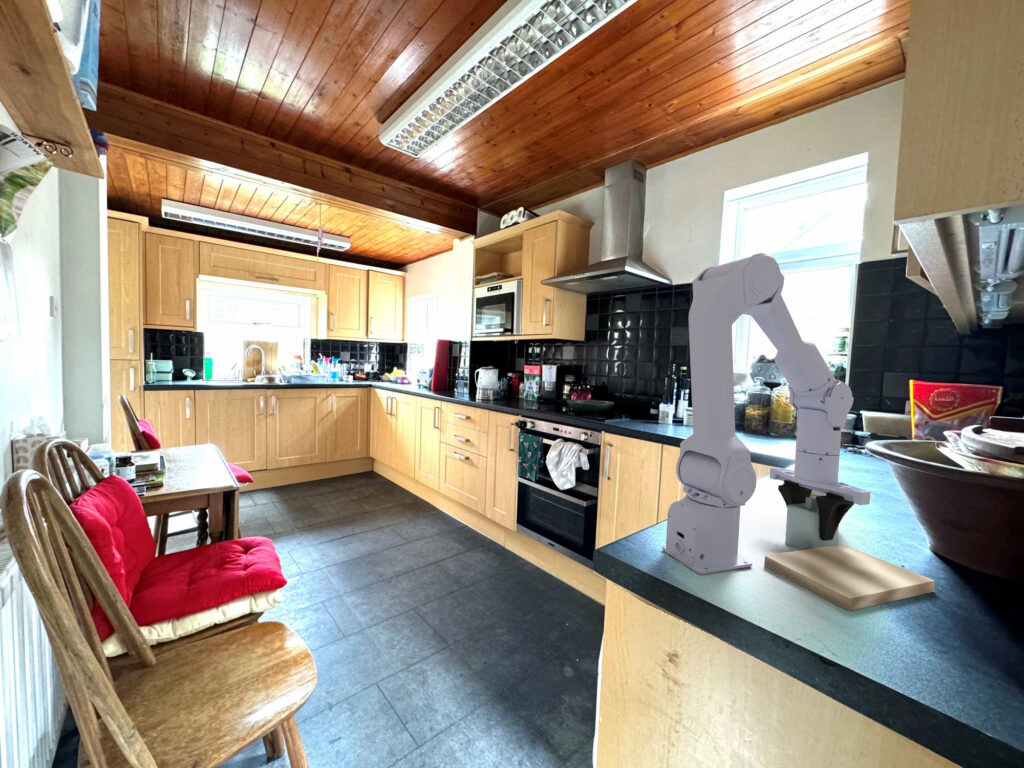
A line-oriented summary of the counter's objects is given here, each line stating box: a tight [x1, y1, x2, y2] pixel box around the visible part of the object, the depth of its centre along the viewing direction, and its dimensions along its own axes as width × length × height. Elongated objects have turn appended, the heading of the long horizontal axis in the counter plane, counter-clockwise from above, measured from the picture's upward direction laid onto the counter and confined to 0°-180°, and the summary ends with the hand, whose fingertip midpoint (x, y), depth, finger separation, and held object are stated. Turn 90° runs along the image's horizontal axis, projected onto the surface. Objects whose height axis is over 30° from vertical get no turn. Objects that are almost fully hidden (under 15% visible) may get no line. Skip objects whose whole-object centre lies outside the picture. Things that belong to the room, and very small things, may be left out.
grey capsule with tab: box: [784, 497, 840, 550], centre depth 66 cm, size 9×4×8 cm, turn 108°
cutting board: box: [763, 543, 936, 612], centre depth 55 cm, size 16×11×2 cm
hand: (811, 533), depth 66 cm, fingers closed on grey capsule with tab, 4 cm apart
